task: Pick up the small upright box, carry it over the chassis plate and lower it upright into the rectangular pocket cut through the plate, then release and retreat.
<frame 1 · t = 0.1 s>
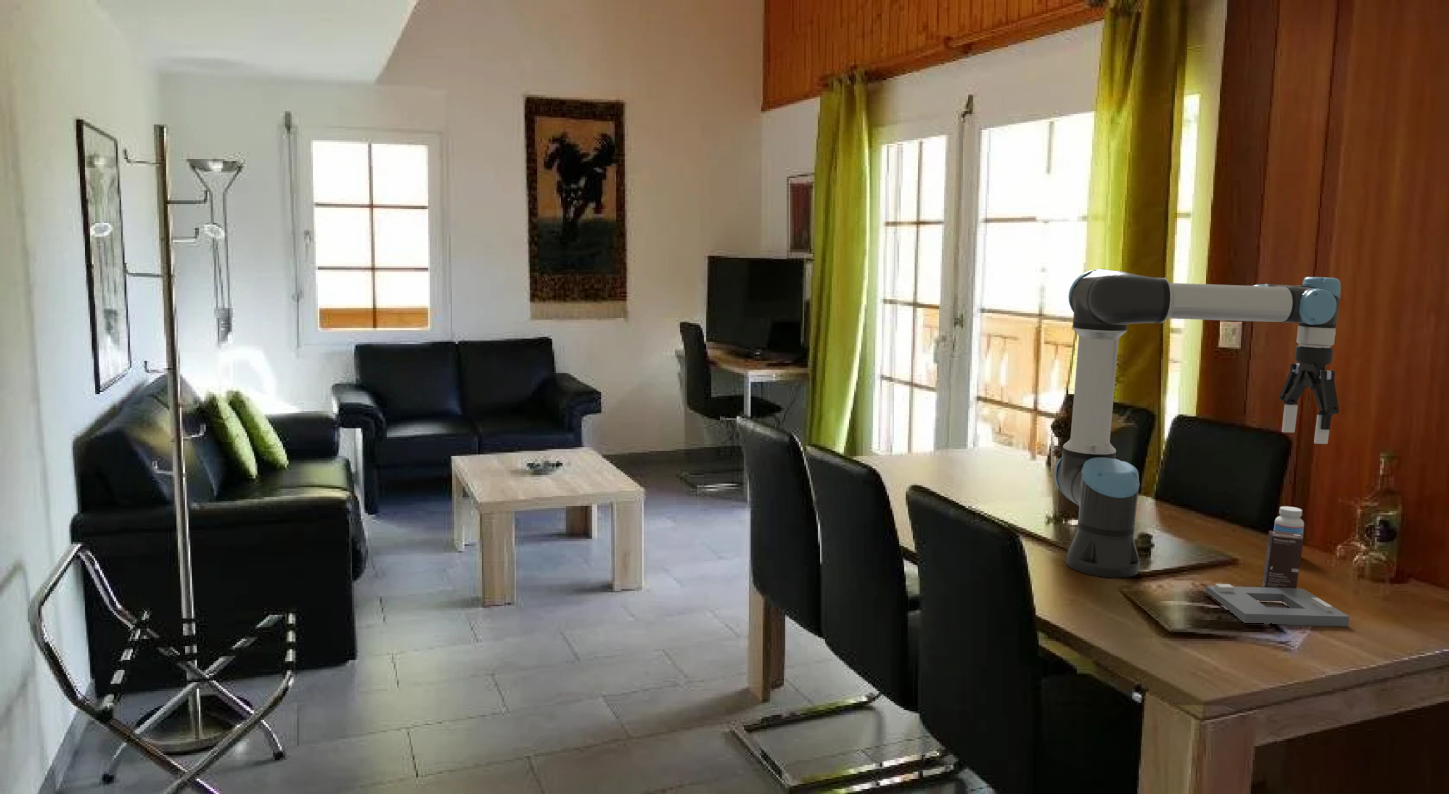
hand: (1303, 437, 244), 28 cm above the table, fingers open, 13 cm apart
box: (1278, 590, 223), on the table
pill bottle: (1285, 556, 248), on the table
chassis: (1274, 610, 210), on the table
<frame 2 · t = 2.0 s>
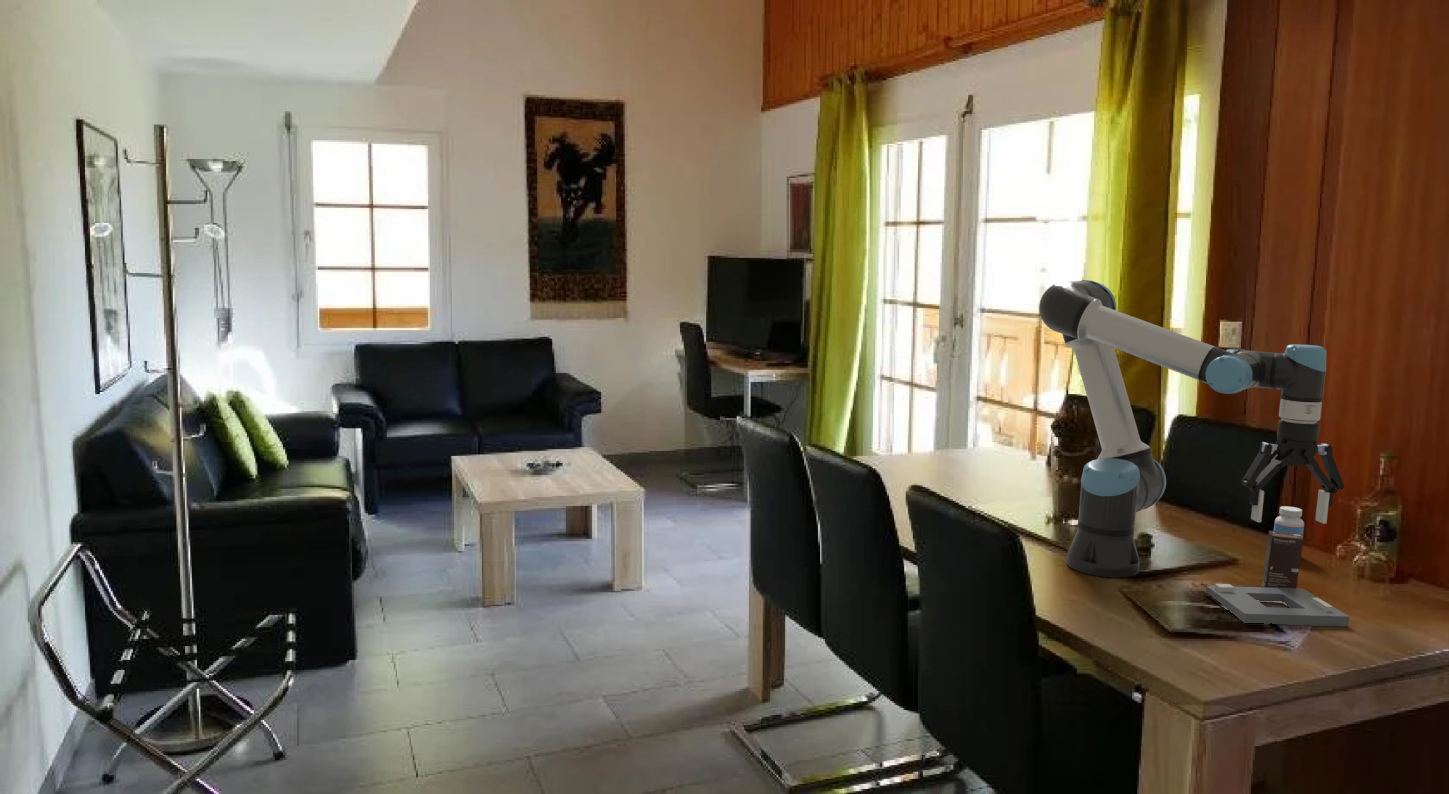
hand: (1288, 521, 220), 15 cm above the table, fingers open, 13 cm apart
nothing on the table moved.
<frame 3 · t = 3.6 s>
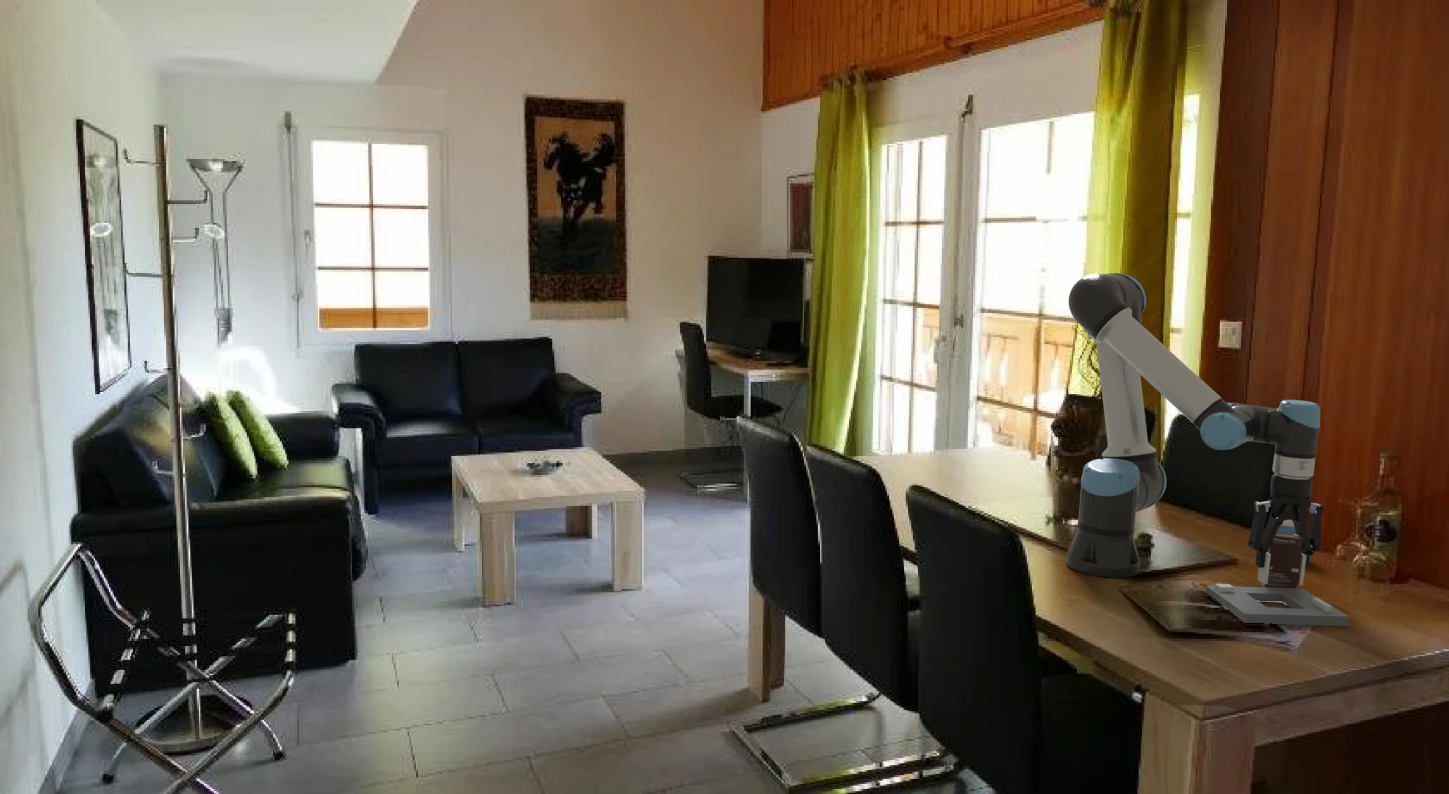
hand: (1279, 582, 223), 2 cm above the table, fingers closed on box, 7 cm apart
box: (1279, 590, 223), on the table, touching gripper
everything else where it was.
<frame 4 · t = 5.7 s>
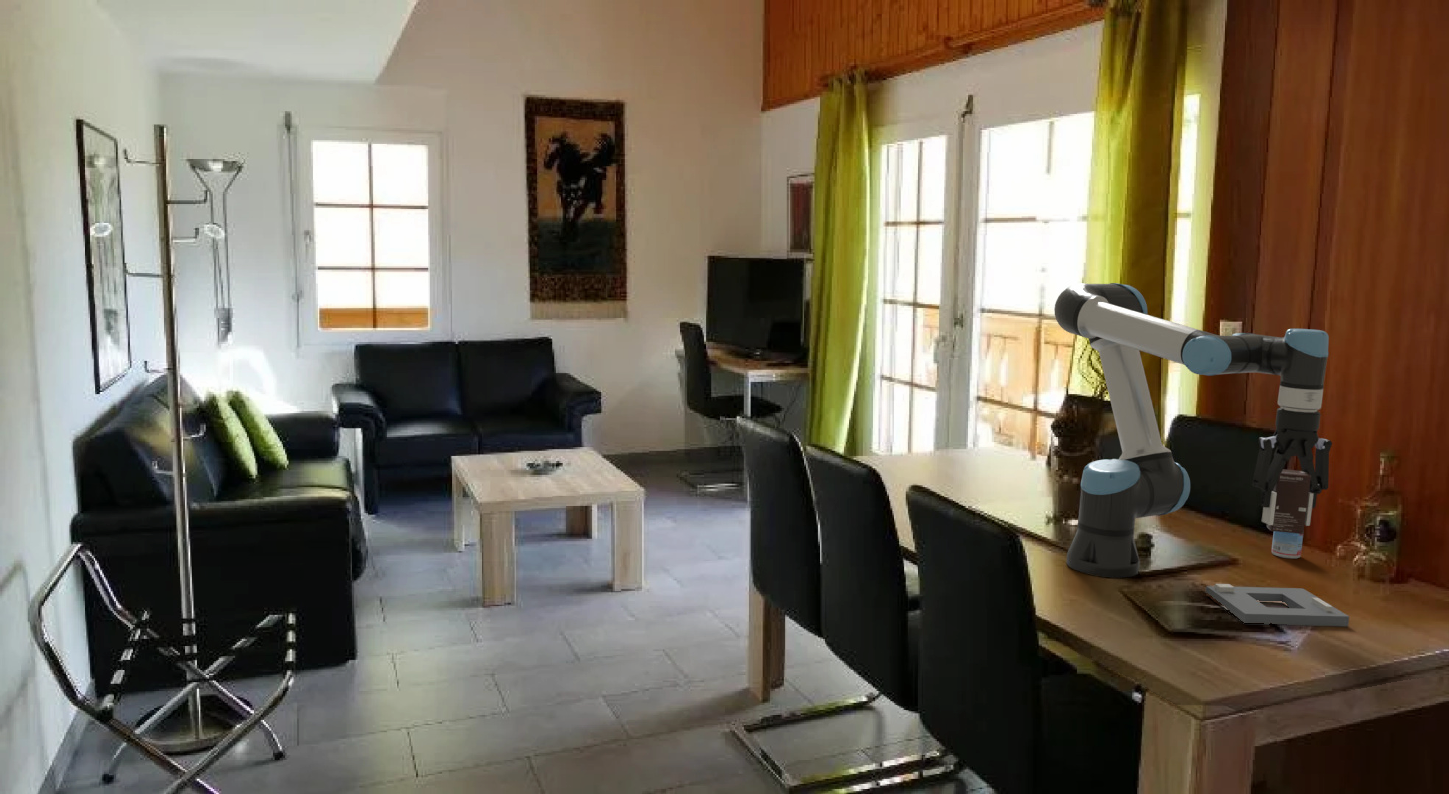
hand: (1285, 523, 210), 17 cm above the table, fingers closed on box, 7 cm apart
box: (1284, 531, 210), point 15 cm above the table, touching gripper
everything else where it was.
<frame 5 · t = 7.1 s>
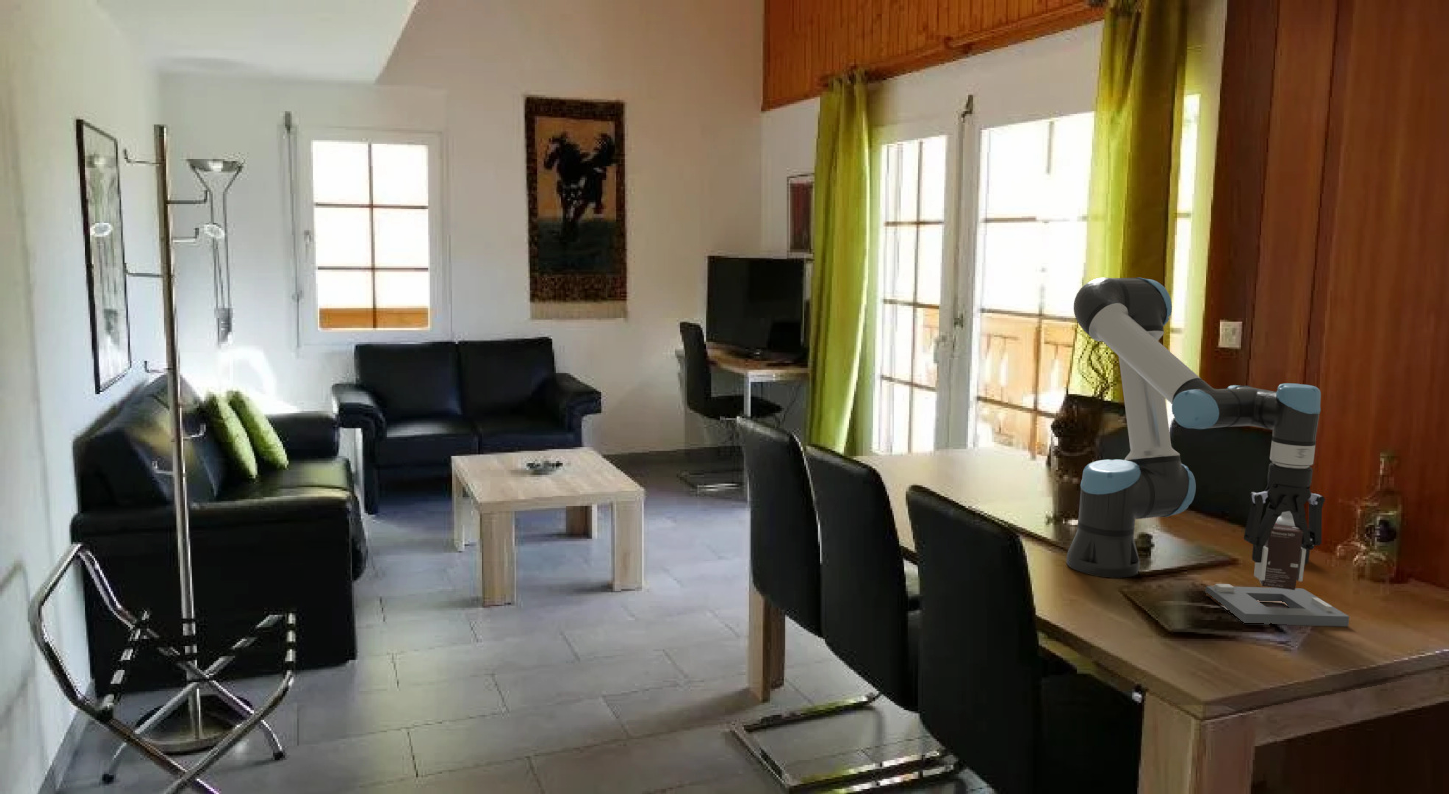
hand: (1278, 578, 209), 7 cm above the table, fingers closed on box, 7 cm apart
box: (1277, 587, 209), point 5 cm above the table, touching gripper
everything else where it was.
when the fingers open (3 cm above the table, at t = 8.0 s): box drops 2 cm, resting in chassis.
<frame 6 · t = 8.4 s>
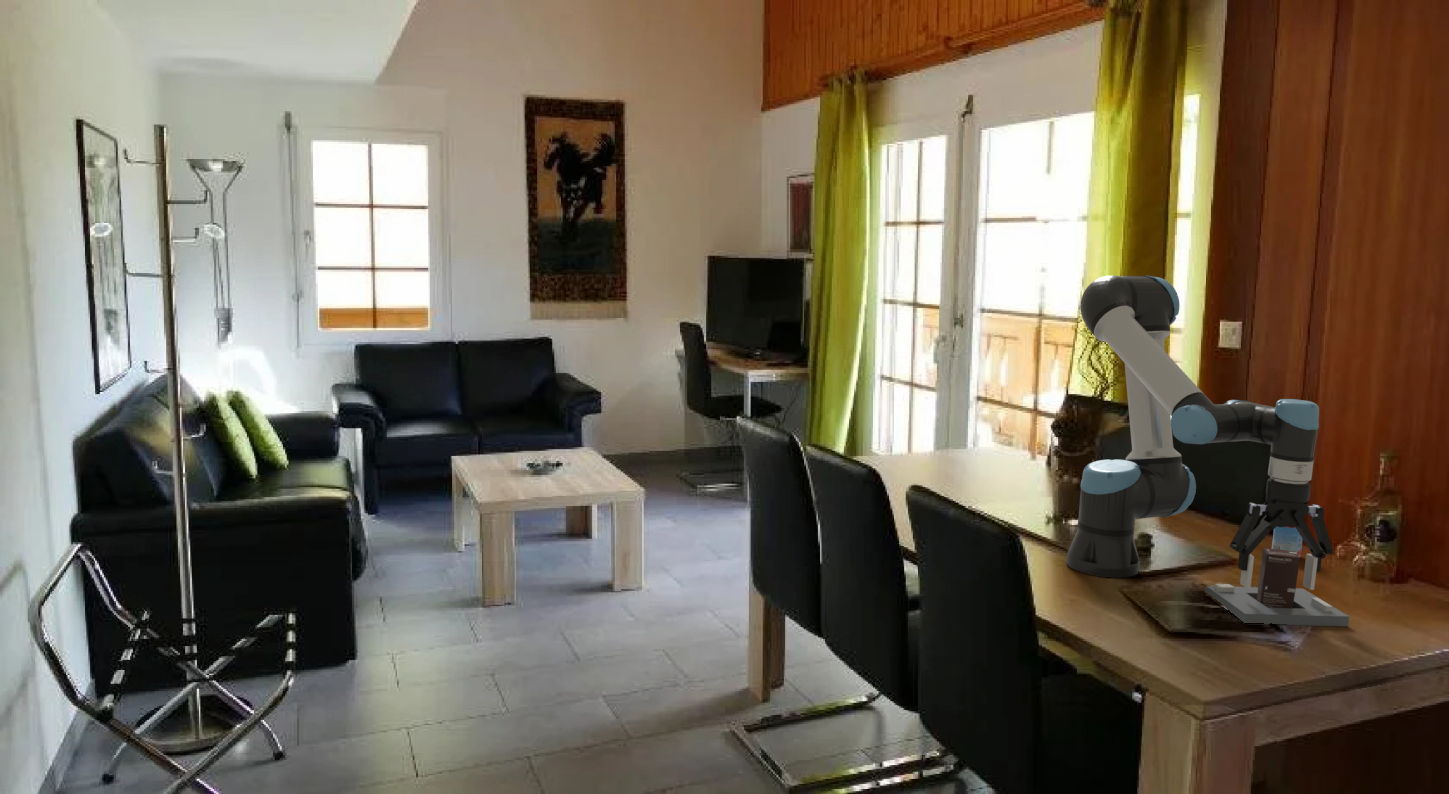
hand: (1276, 587, 209), 5 cm above the table, fingers open, 12 cm apart
box: (1274, 611, 210), resting in chassis
everything else where it was.
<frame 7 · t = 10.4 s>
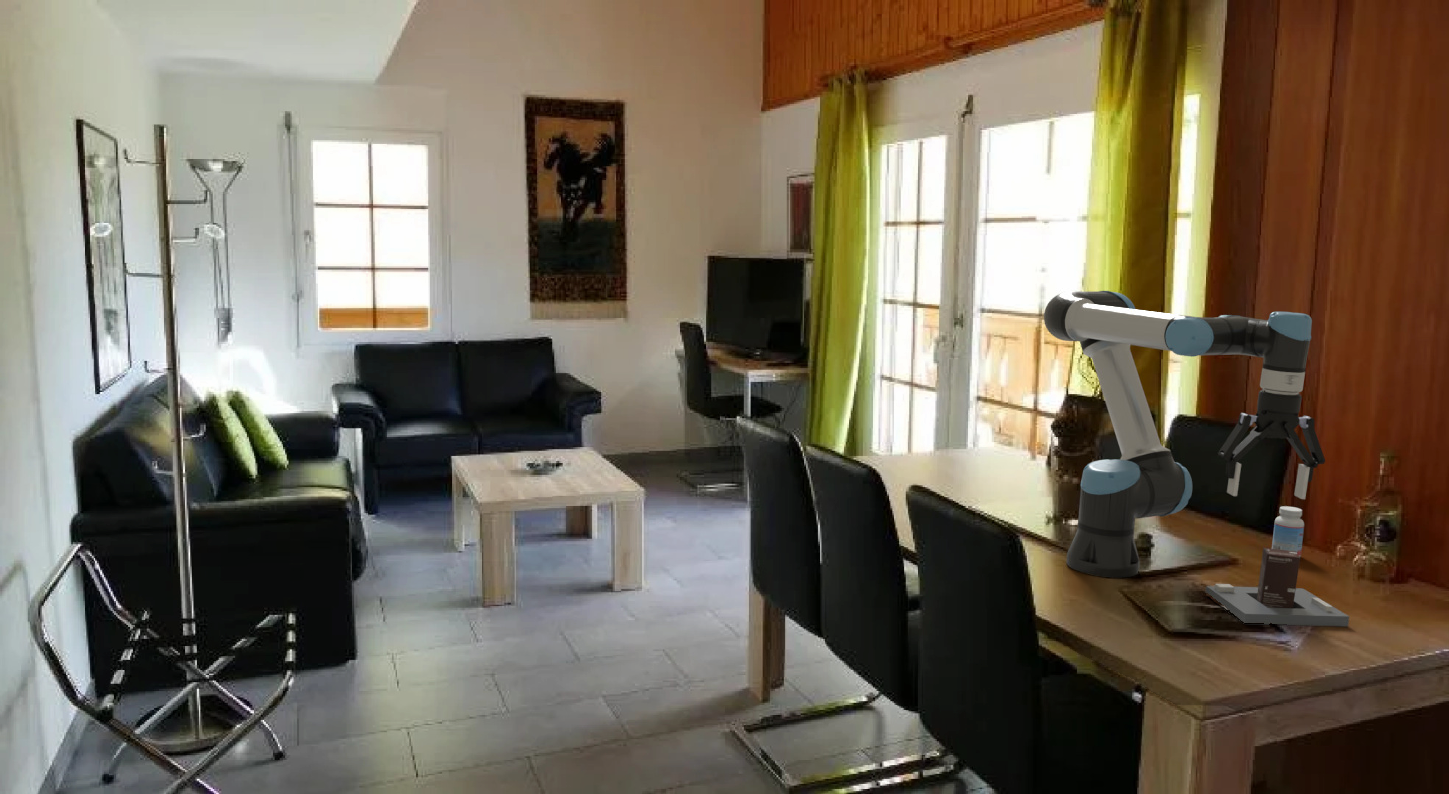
hand: (1265, 496, 212), 22 cm above the table, fingers open, 13 cm apart
nothing on the table moved.
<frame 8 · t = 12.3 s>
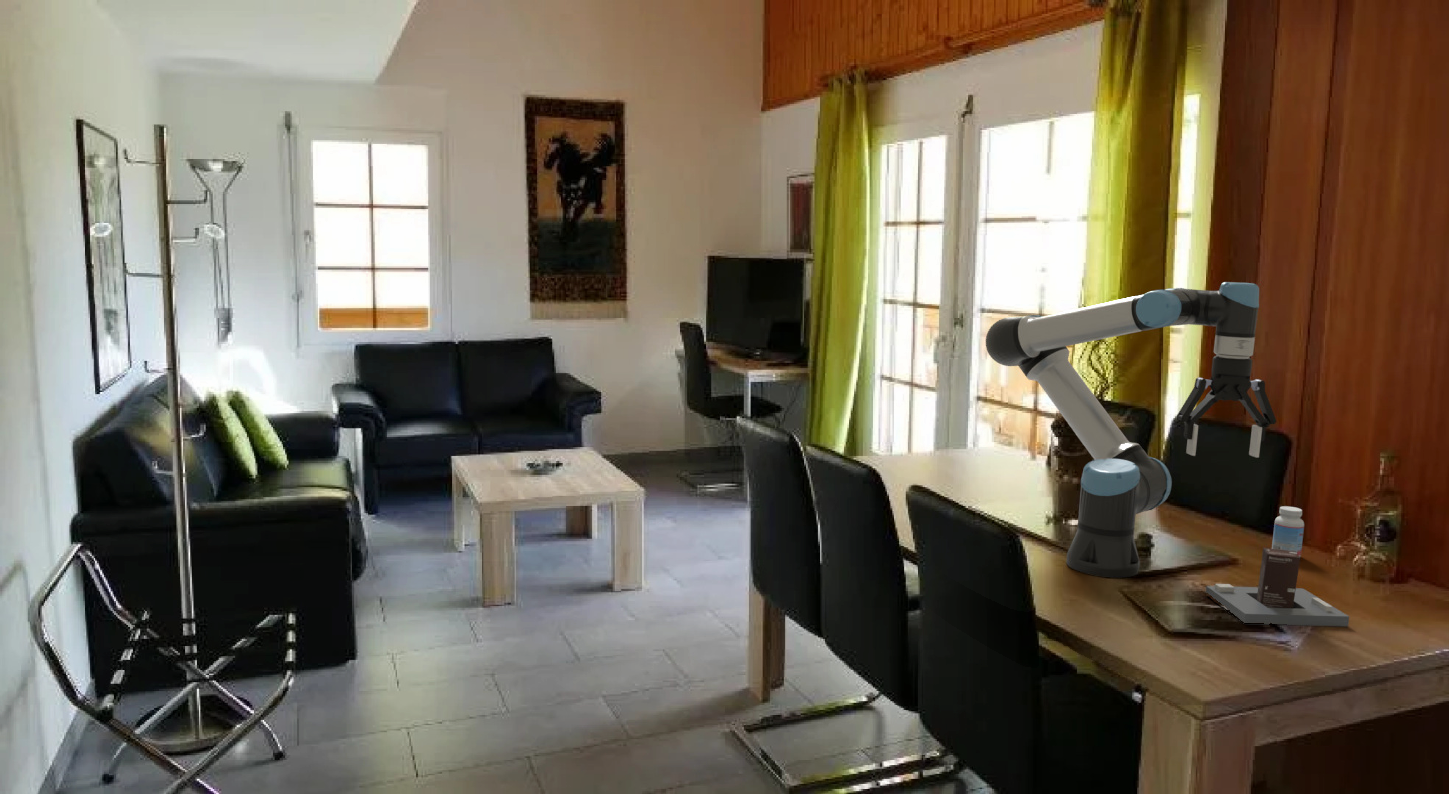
hand: (1222, 455, 226), 27 cm above the table, fingers open, 13 cm apart
nothing on the table moved.
at the end: box 0.0 cm off-centre on the chassis, point 0.0 cm above the chassis's base; box tilted 0°; the gripper is holding nothing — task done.
